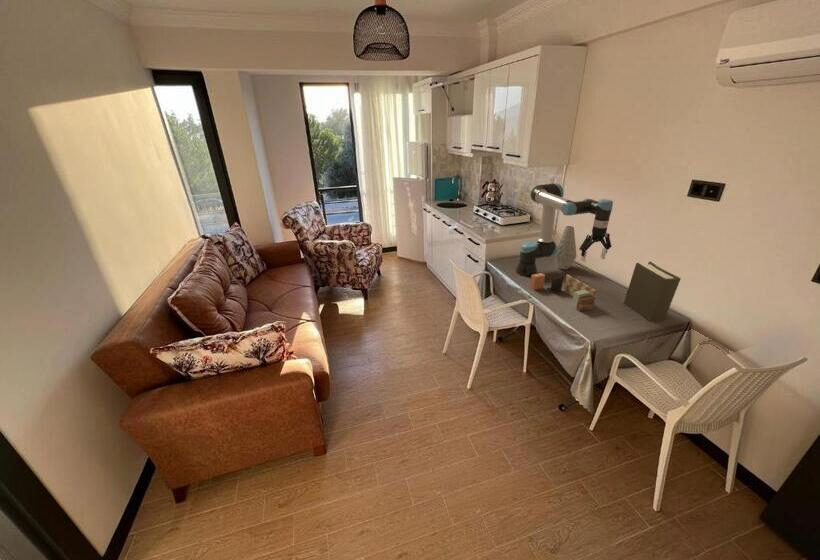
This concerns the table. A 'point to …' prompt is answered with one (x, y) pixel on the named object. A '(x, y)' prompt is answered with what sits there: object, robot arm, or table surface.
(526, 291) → the table surface
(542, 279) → the book rust
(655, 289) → the book
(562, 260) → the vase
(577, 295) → the book green
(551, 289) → the bookend
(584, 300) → the shelf
